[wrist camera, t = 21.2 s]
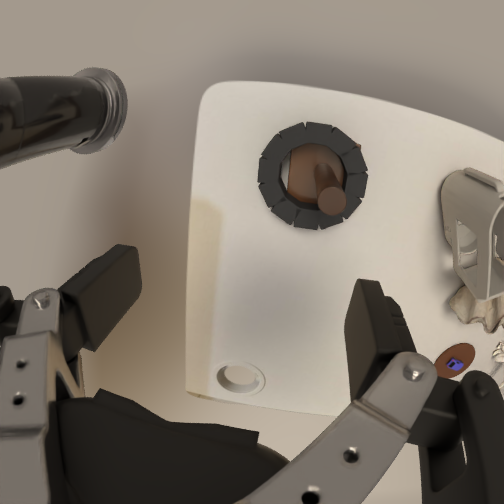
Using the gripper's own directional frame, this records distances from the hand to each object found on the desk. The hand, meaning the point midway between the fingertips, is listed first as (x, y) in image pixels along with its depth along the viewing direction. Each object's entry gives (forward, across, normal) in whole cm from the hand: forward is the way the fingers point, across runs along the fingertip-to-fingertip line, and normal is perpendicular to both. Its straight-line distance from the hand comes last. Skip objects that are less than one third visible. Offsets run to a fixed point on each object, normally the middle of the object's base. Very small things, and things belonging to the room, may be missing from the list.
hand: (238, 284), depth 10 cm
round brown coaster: (+23, -32, +25) cm, 47 cm away
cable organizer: (+23, -22, +2) cm, 32 cm away
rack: (+23, -4, -1) cm, 24 cm away
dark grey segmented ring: (+22, -3, 0) cm, 22 cm away
